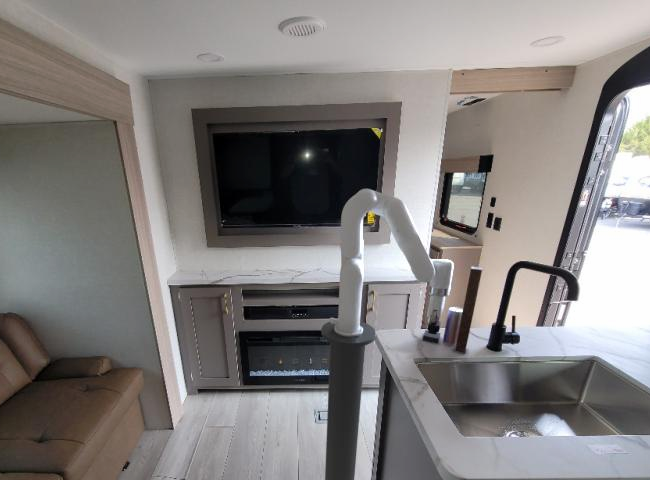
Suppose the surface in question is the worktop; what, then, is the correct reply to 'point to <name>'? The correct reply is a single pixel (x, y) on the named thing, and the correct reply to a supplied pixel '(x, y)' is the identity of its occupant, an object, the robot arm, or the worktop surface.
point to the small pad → (437, 325)
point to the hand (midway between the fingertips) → (433, 330)
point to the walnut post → (468, 308)
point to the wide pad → (431, 337)
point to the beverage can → (452, 325)
